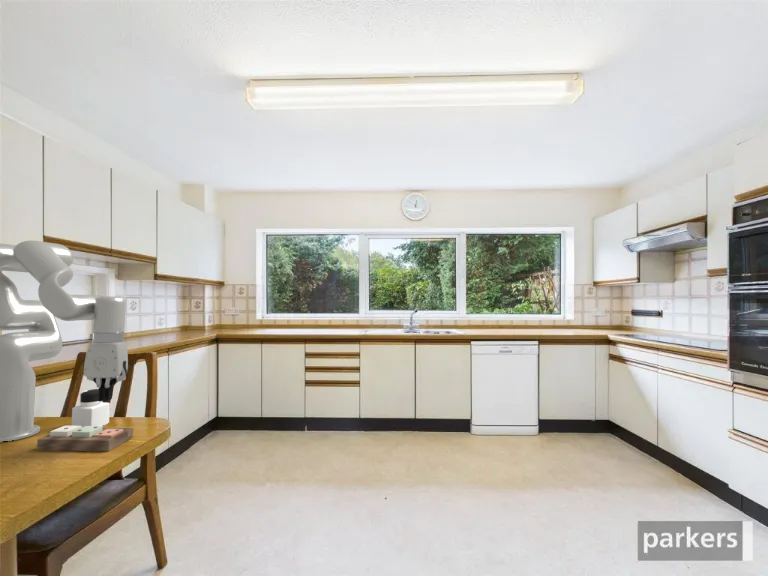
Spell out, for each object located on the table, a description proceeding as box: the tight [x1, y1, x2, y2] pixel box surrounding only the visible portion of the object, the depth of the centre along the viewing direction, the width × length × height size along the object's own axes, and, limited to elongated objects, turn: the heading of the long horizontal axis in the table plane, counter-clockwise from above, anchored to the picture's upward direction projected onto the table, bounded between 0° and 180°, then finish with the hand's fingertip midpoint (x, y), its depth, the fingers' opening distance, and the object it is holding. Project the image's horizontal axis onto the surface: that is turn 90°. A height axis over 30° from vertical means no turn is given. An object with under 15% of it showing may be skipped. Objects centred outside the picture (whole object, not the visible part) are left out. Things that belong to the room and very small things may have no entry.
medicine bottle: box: [71, 388, 111, 427], centre depth 122 cm, size 7×7×12 cm
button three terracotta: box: [94, 429, 124, 438], centre depth 108 cm, size 5×5×2 cm
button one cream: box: [49, 425, 82, 437], centre depth 108 cm, size 5×5×2 cm
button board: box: [36, 427, 134, 452], centre depth 108 cm, size 20×10×3 cm, turn 90°
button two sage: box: [72, 426, 104, 437], centre depth 108 cm, size 5×5×2 cm
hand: (105, 400), depth 109 cm, fingers closed
